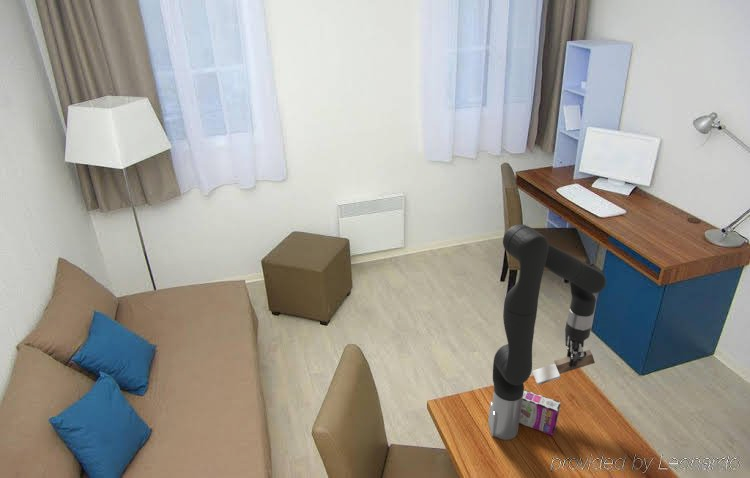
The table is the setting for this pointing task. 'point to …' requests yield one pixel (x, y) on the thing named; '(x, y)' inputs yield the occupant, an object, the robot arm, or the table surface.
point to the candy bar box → (539, 412)
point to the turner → (560, 368)
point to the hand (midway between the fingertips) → (571, 363)
